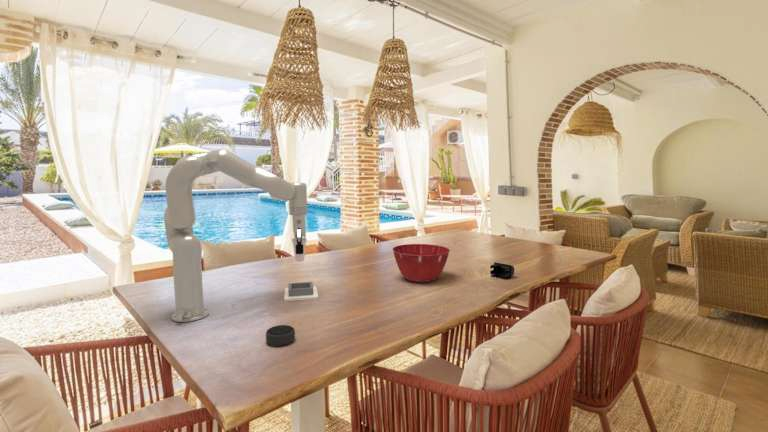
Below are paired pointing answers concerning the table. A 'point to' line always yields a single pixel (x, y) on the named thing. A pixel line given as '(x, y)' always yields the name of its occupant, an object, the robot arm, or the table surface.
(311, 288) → the socket board
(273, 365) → the table surface
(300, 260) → the smoothie
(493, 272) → the end cap
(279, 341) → the smart speaker
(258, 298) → the table surface
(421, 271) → the mixing bowl
